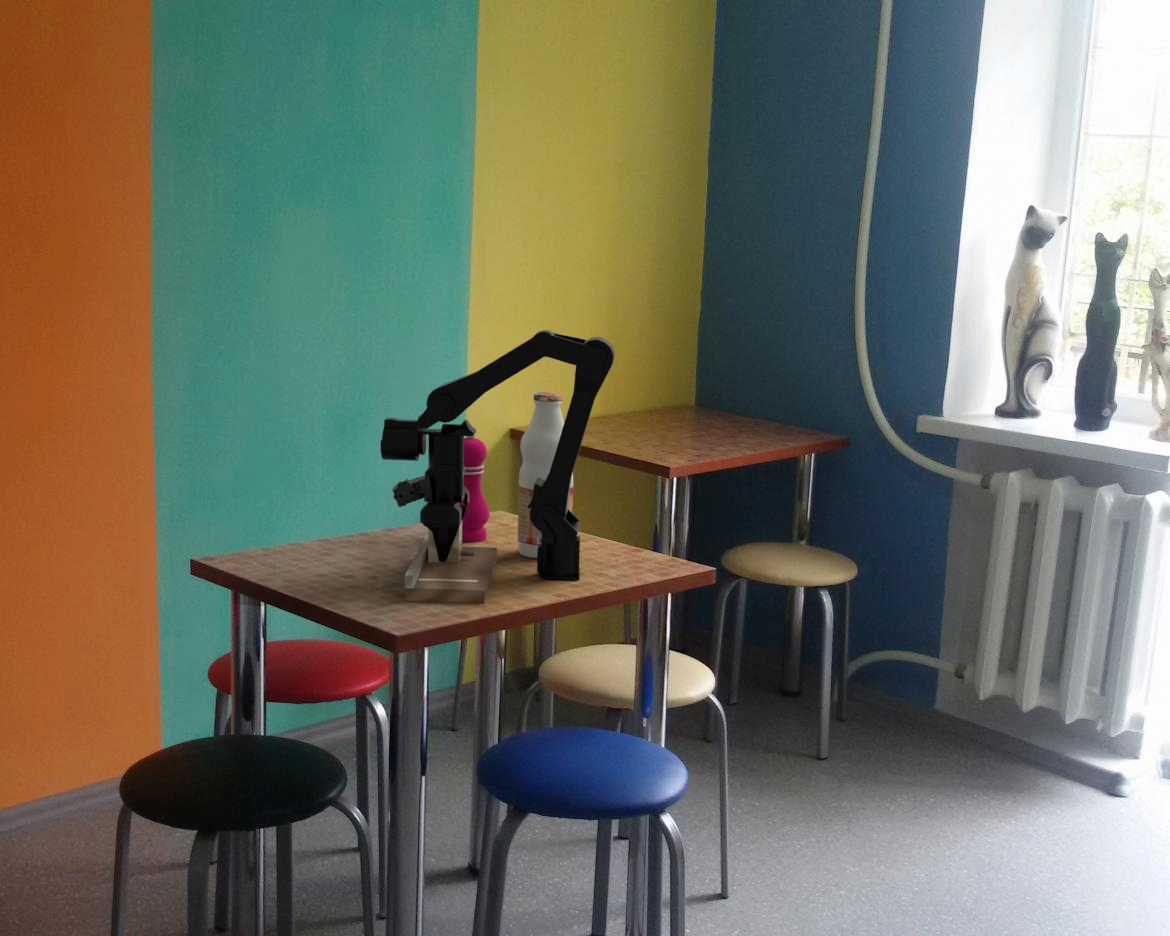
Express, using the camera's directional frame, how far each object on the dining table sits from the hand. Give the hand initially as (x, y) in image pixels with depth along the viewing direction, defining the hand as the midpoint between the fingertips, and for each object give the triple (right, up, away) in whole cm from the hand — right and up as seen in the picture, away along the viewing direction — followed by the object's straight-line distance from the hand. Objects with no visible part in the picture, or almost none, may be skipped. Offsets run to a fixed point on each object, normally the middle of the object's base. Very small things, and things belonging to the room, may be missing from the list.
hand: (445, 555), depth 226 cm
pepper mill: (+2, +1, +24) cm, 24 cm away
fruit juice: (+16, -1, +14) cm, 21 cm away
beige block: (+1, -1, 0) cm, 1 cm away
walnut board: (+2, -3, -4) cm, 6 cm away
